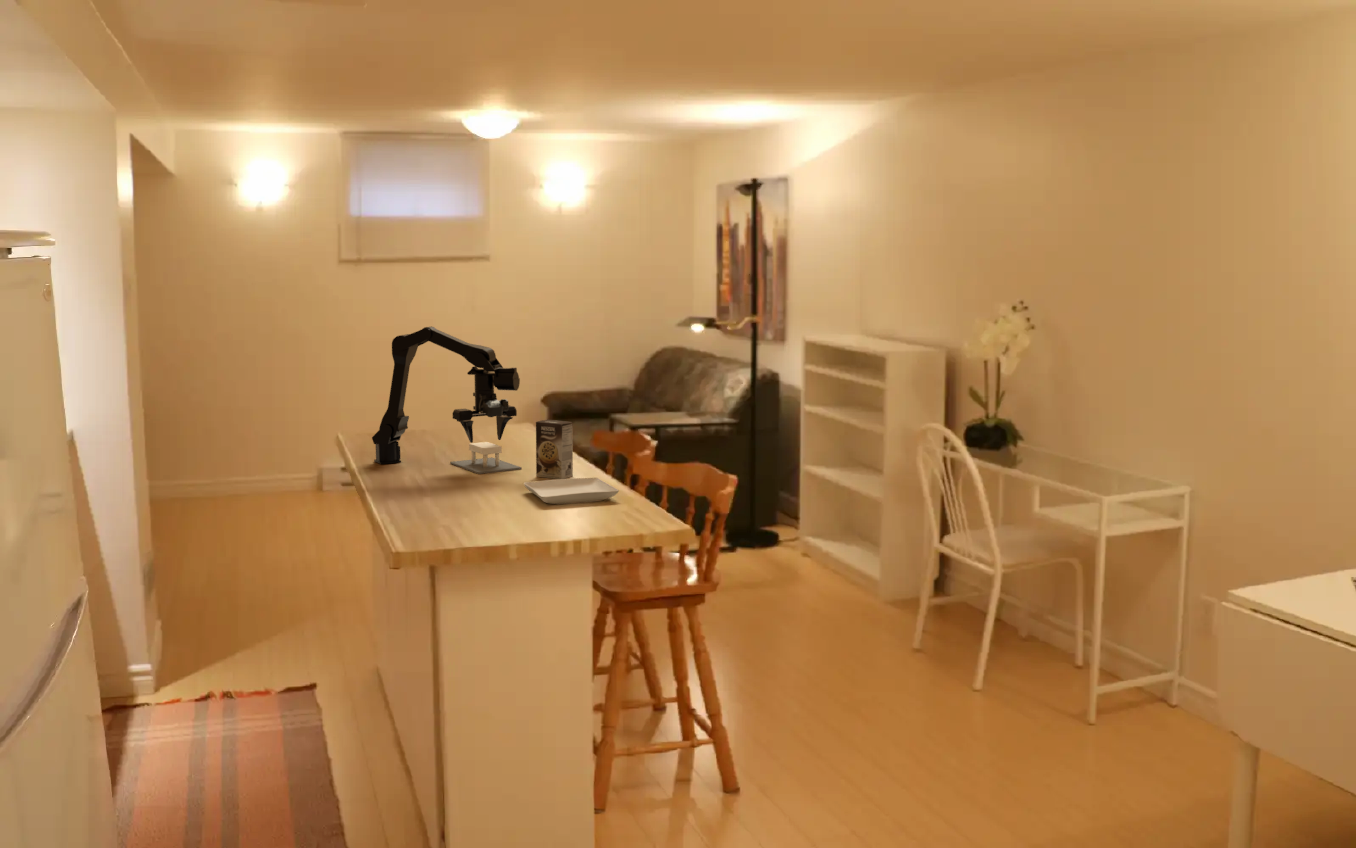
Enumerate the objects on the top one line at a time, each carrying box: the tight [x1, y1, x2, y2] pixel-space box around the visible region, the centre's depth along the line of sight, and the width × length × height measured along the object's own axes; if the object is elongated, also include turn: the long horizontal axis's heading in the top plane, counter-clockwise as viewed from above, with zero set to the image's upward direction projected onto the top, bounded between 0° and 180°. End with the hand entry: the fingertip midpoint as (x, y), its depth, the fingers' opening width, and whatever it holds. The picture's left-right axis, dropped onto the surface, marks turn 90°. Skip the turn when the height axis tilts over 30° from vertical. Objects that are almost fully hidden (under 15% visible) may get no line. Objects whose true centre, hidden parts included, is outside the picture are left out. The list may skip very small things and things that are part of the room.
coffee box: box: [535, 419, 574, 480], centre depth 345 cm, size 9×6×16 cm
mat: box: [449, 457, 522, 475], centre depth 361 cm, size 14×20×1 cm
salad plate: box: [523, 476, 620, 505], centre depth 318 cm, size 21×21×3 cm
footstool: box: [468, 441, 503, 468], centre depth 360 cm, size 10×6×6 cm, turn 35°
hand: (485, 441), depth 360 cm, fingers open, 9 cm apart
